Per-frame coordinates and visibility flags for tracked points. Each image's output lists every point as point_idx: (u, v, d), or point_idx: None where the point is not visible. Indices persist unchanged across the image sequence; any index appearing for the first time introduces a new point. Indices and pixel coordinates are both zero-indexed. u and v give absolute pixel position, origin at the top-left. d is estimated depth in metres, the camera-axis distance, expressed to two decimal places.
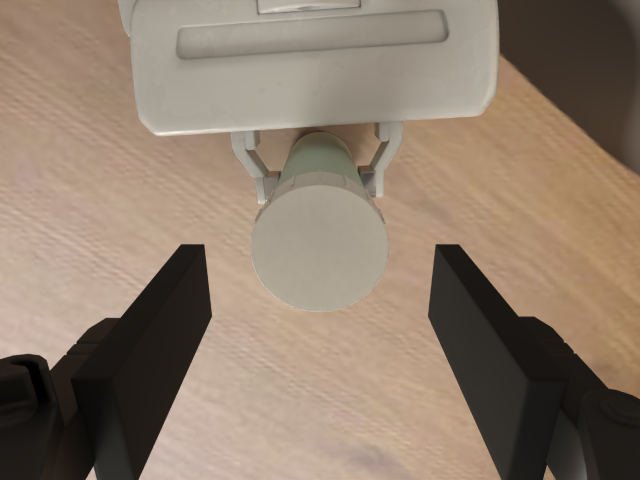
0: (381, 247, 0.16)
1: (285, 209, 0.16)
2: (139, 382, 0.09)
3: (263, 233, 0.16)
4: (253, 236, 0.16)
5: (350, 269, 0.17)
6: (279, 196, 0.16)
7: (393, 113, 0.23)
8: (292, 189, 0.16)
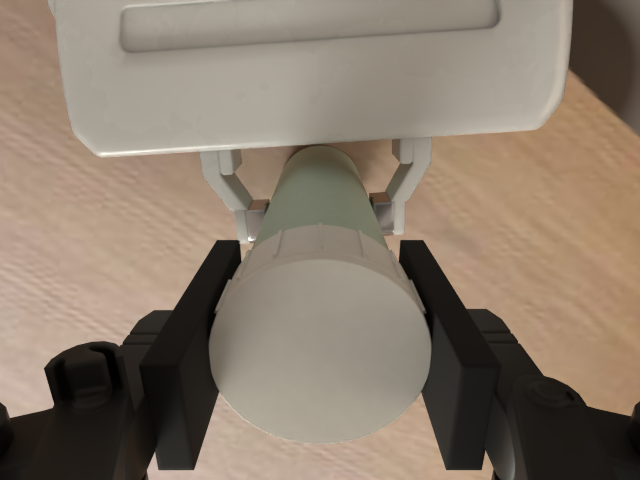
0: (420, 353, 0.10)
1: (263, 297, 0.10)
2: (196, 370, 0.09)
3: (228, 333, 0.10)
4: (212, 337, 0.10)
5: (369, 385, 0.10)
6: (253, 276, 0.09)
7: (420, 127, 0.17)
8: (274, 265, 0.09)
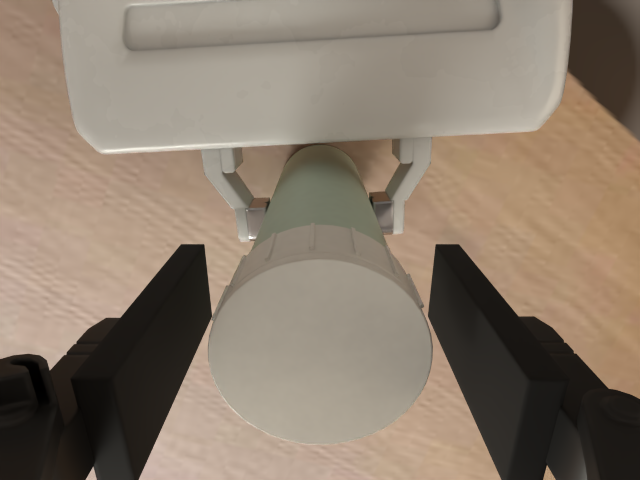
0: (345, 273, 0.09)
1: (236, 383, 0.10)
2: (138, 382, 0.09)
3: (265, 418, 0.11)
4: (265, 431, 0.11)
5: (366, 328, 0.10)
6: (216, 383, 0.10)
7: (420, 127, 0.17)
8: (210, 364, 0.10)
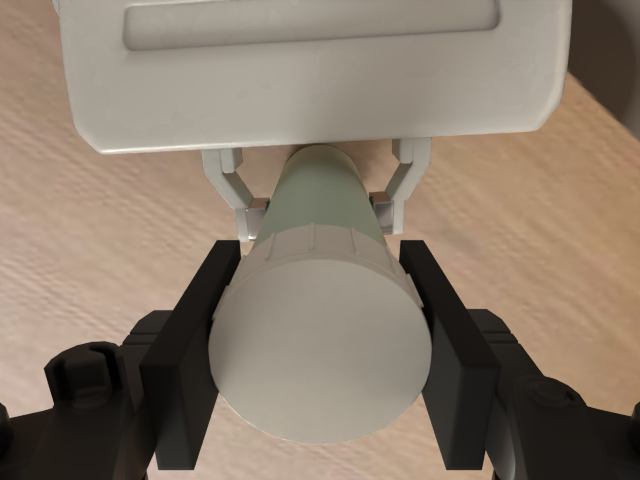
0: (345, 273, 0.09)
1: (236, 383, 0.10)
2: (196, 370, 0.09)
3: (265, 418, 0.11)
4: (265, 431, 0.11)
5: (366, 328, 0.10)
6: (216, 383, 0.11)
7: (420, 127, 0.17)
8: (210, 364, 0.10)
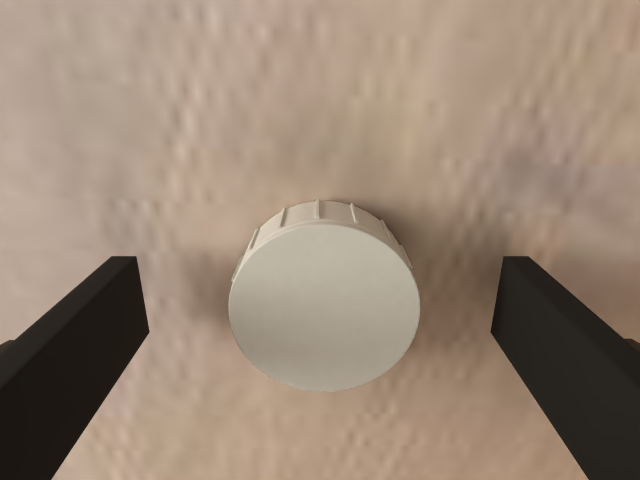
0: (346, 237, 0.11)
1: (252, 335, 0.12)
2: (20, 417, 0.08)
3: (276, 368, 0.13)
4: (276, 379, 0.13)
5: (364, 286, 0.12)
6: (234, 335, 0.12)
7: None
8: (230, 319, 0.12)
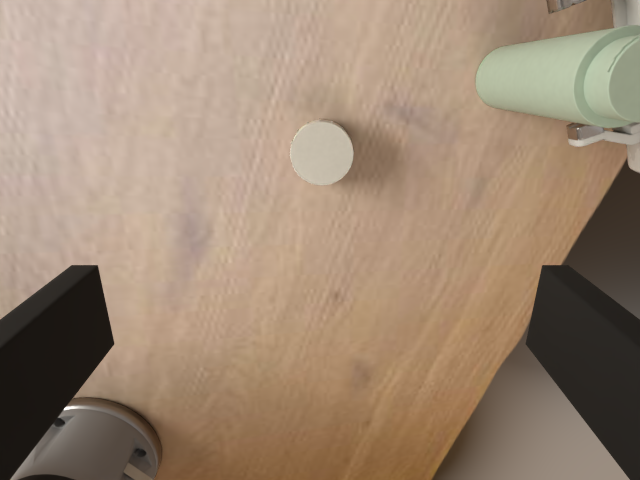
0: (328, 126, 0.35)
1: (298, 162, 0.36)
2: None
3: (305, 175, 0.37)
4: (305, 180, 0.37)
5: (334, 143, 0.36)
6: None
7: None
8: (290, 156, 0.36)
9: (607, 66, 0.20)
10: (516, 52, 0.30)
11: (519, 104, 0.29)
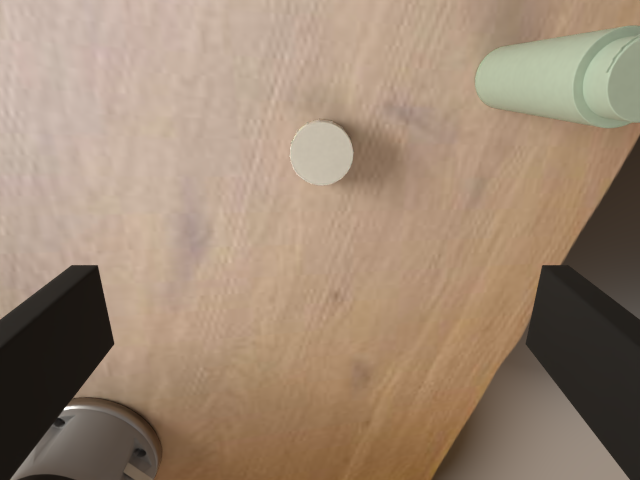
0: (328, 126, 0.35)
1: (297, 162, 0.36)
2: None
3: (305, 175, 0.37)
4: (305, 180, 0.37)
5: (334, 143, 0.36)
6: None
7: None
8: (290, 156, 0.36)
9: (606, 66, 0.20)
10: (515, 52, 0.30)
11: (518, 104, 0.30)
